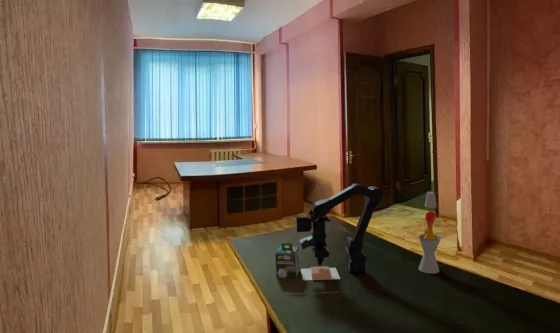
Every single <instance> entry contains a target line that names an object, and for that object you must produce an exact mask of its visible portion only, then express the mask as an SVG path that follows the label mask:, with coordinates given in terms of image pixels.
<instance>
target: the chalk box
mask: <svg viewBox="0 0 560 333" xmlns="http://www.w3.org/2000/svg"><path fill="white" fill-rule="evenodd" d="M280 244H281V245H280V246H278V247H277V249H276V251H275V254H274V256H275V276H276V278H282V279H283V278H286V279H288V278H289V279H297V278H298V275H299V272H301V268H300V267H301V266H300V250H299V249H300V248H299V245H297V246H295V245H293V243H292V242H282V243H280Z"/></svg>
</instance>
